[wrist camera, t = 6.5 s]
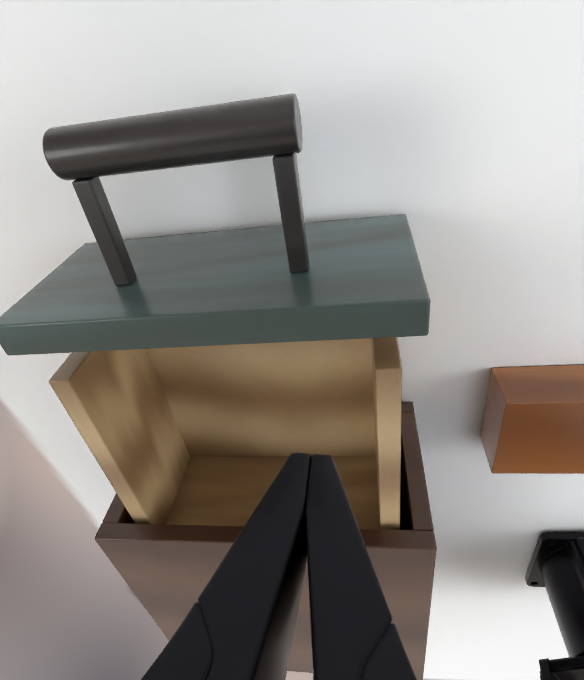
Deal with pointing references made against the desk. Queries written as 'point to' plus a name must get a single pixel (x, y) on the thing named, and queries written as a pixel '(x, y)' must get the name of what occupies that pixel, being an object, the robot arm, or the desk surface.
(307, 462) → the robot arm
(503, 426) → the brown rectangular box
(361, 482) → the drawer
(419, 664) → the cabinet
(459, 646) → the desk surface
